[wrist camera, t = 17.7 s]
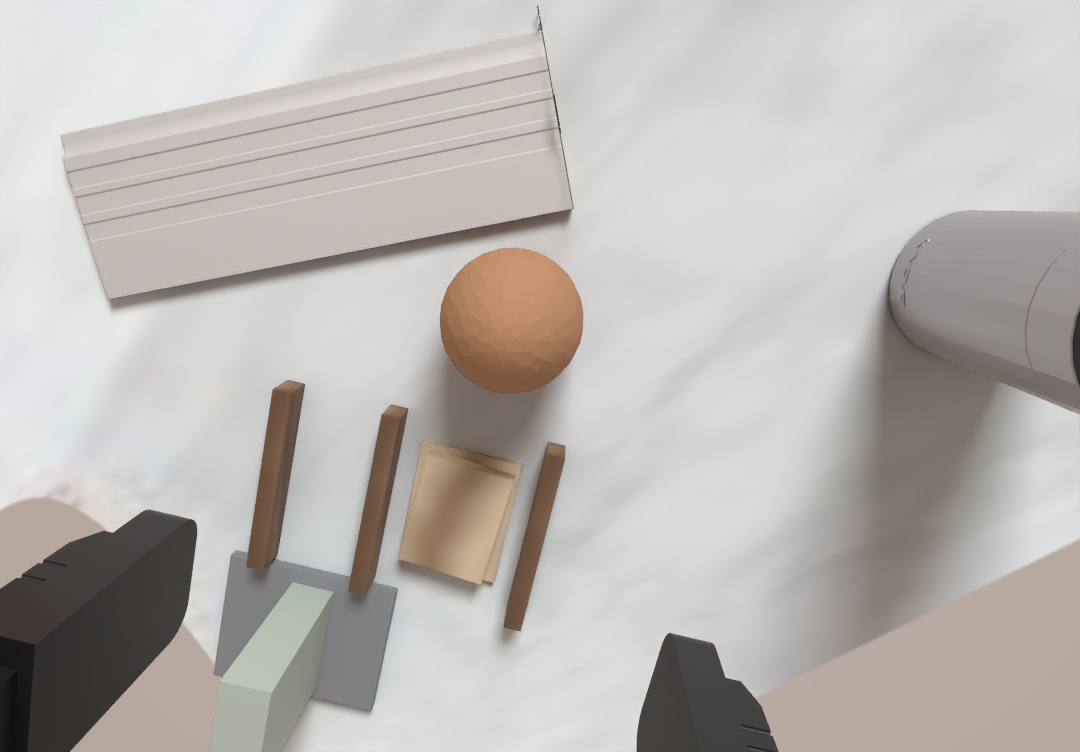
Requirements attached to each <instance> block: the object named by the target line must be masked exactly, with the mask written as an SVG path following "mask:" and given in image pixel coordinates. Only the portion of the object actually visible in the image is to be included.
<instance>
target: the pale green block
mask: <svg viewBox="0 0 1080 752" xmlns="http://www.w3.org/2000/svg"><path fill="white" fill-rule="evenodd" d="M333 593H334V592H332V591H328V590H323V589H319V588H315V587H311V586H307V585H302V584H298V583H294V582H293V583H292V584H291V585H290V587H289V588H288V589H287V591H286V592H285V594H284V595H283V596H282V598H281V599H280V600H279V602H278V603H277V604H276V606H275V607H274V608H273V610H272V611H271V612H270V614H269V615H268V617H267V618H266V619H265V621H264V622H263V623H262V625H261V626H260V627H259V629H258V630H257V631H256V633H255V634H254V635H253V637H252V638H251V639H250V641H249V642H248V644H247V645H246V646H245V648H244V649H243V650H242V652H241V653H240V654H239V656H238V657H237V658H236V660H235V661H234V662H233V664H232V665H231V666H230V668H229V669H228V671H227V672H226V673H225V675H224V676H223V677H222V679H221V680H220V683H219V689H218V697H217V703H216V709H215V716H214V723H213V729H212V736H211V743H210V750H209V752H281V751H282V749H283V747H284V746H285V744H286V742H287V740H288V738H289V736H290V734H291V732H292V731H293V729H294V727H295V725H296V723H297V721H298V719H299V717H300V715H301V714H302V712H303V710H304V708H305V706H306V704H307V702H308V700H309V699H310V697H311V695H312V693H313V691H314V689H315V687H316V684H317V679H318V673H319V668H320V663H321V657H322V652H323V647H324V641H325V636H326V631H327V625H328V620H329V615H330V609H331V604H332V599H333Z"/></svg>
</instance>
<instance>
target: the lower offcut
mask: <svg viewBox="0 0 1080 752" xmlns="http://www.w3.org/2000/svg"><path fill="white" fill-rule="evenodd" d="M431 449H434V450H437V451H440V452H443V453H446V454H450V455H453V456H456V457H459V458H462V459H465V460H469V461H472V462H475V463H478V464H481V465H484V466H488V467H491V468H494V469H497V470H500V471H503V472H507V473H510V474H513V475H515V479H514V482H513V486H512V489H511V492H510V495H509V498H508V501H507V504H506V507H505V511H504V514H503V517H502V520H501V523H500V526H499V529H498V532H497V536H496V539H495V542H494V545H493V548H492V551H491V554H490V557H489V561H488V564H487V567H486V570H485V573H484V576H483V579H482V580H485V581H489V582H493V583H494V581H495V576H496V572H497V568H498V564H499V560H500V555H501V551H502V547H503V543H504V539H505V534H506V530H507V526H508V522H509V518H510V514H511V509H512V505H513V501H514V497H515V493H516V488H517V484H518V480H519V476H520V472H521V468H522V464H521V463H517V462H512V461H508V460H504V459H499V458H495V457H491V456H487V455H482V454H478V453H474V452H470V451H465V450H461V449H457V448H452V447H448V446H444V445H440V444H435V443H431V442H427V441H423V442H422V445H421V450H420V455H419V460H418V465H417V470H416V475H415V480H414V484H413V489H412V494H411V499H410V504H409V509H408V514H407V519H406V524H405V529H404V534H403V539H402V544H403V540H404V537H405V533H406V530H407V526H408V523H409V519H410V516H411V512H412V509H413V505H414V502H415V498H416V495H417V491H418V488H419V484H420V481H421V477H422V474H423V470H424V467H425V463H426V460H427V456H428V454H429V452H430V451H431ZM402 544H401V547H402ZM400 551H401V549H400ZM399 554H400V553H399ZM398 560H401V559H398ZM401 561H404V560H401ZM405 562H407V561H405Z"/></svg>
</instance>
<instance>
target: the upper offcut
mask: <svg viewBox="0 0 1080 752" xmlns="http://www.w3.org/2000/svg"><path fill="white" fill-rule="evenodd" d="M514 479H515V475H513V474H510V473H507V472H503V471H500V470H497V469H494V468H491V467H488V466H484V465H481V464H478V463H475V462H472V461H469V460H465V459H462V458H459V457H456V456H453V455H450V454H446V453H443V452H440V451H437V450H434V449H431V451H430V452H429V454H428V456H427V460H426V463H425V467H424V470H423V474H422V477H421V481H420V484H419V488H418V491H417V495H416V498H415V502H414V505H413V509H412V512H411V516H410V519H409V523H408V526H407V530H406V533H405V537H404V540H403V544H402V547H401V551H400V554H399V558H398V559H401V560H404V561H407V562H410V563H413V564H416V565H420V566H423V567H426V568H429V569H432V570H435V571H438V572H442V573H445V574H448V575H451V576H454V577H457V578H461V579H464V580H467V581H470V582H473V583H476V584H480V585H481V583H482V579H483V576H484V573H485V570H486V567H487V564H488V561H489V557H490V554H491V551H492V548H493V545H494V542H495V539H496V536H497V532H498V529H499V526H500V523H501V520H502V517H503V514H504V511H505V507H506V504H507V501H508V498H509V495H510V492H511V489H512V486H513V482H514Z"/></svg>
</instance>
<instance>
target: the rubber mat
mask: <svg viewBox="0 0 1080 752" xmlns="http://www.w3.org/2000/svg"><path fill="white" fill-rule="evenodd" d="M247 557H248V553H245V552H240V551H235V552H234V553H233V554H232V555H231V559H230V566H229V572H228V579H227V586H226V593H225V600H224V607H223V614H222V621H221V628H220V635H219V642H218V649H217V656H216V663H215V670H214V675H217V676H221V677H223V676H224V675H225V673H226V672H227V671H228V669H229V668H230V666H231V665H232V664H233V662H234V661H235V660H236V658H237V657H238V656H239V654H240V653H241V652H242V650H243V649H244V648H245V646H246V645H247V644H248V642H249V641H250V639H251V638H252V637H253V635H254V634H255V633H256V631H257V630H258V629H259V627H260V626H261V625H262V623H263V622H264V621H265V619H266V618H267V617H268V615H269V614H270V612H271V611H272V610H273V608H274V607H275V606H276V604H277V603H278V602H279V600H280V599H281V598H282V596H283V595H284V594H285V592H286V591H287V589H288V588H289V587H290V585H291V584H292V583H293V582H294V583H298V584H302V585H307V586H311V587H315V588H319V589H323V590H328V591H332V592H334V593H333V599H332V604H331V609H330V615H329V620H328V625H327V631H326V636H325V641H324V647H323V652H322V657H321V663H320V668H319V673H318V679H317V684H316V687H315V689H314V691H313V693H312V695H311V697H312V698H316V699H320V700H325V701H329V702H333V703H337V704H342V705H346V706H350V707H355V708H359V709H363V710H368V711H371V710H372V707H373V705H374V701H375V696H376V691H377V686H378V682H379V677H380V672H381V667H382V662H383V658H384V653H385V648H386V643H387V638H388V634H389V629H390V624H391V619H392V614H393V609H394V605H395V600H396V595H397V590H398V588H394V587H389V586H385V585H381V584H377V583H371V585H370V587H369V589H368V591H367V592H366V594H365V595H363V594H359V593H355V592H351V591H348V589H349V584H350V579H351V577H347V576H343V575H338V574H334V573H330V572H326V571H321V570H317V569H313V568H309V567H304V566H300V565H296V564H291V563H287V562H283V561H279V560H274V559H273V560H272V561H271V562H270V563H269V565H268V566H267V567H266V568H265V569H264V571H261V570H257V569H252V568H248V567H246V564H247Z"/></svg>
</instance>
